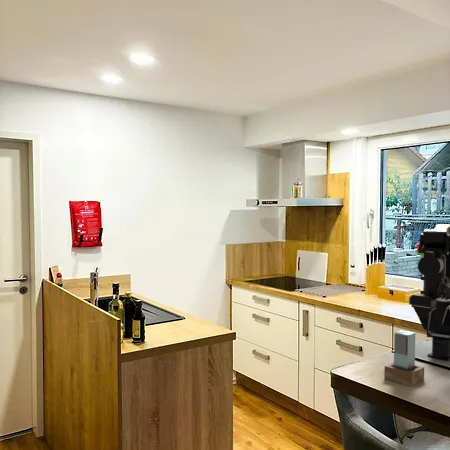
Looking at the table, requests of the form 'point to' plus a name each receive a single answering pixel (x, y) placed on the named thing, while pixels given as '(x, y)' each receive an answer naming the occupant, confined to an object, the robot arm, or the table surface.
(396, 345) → the grey-blue tall rectangular block
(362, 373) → the table surface
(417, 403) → the table surface
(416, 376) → the post base
